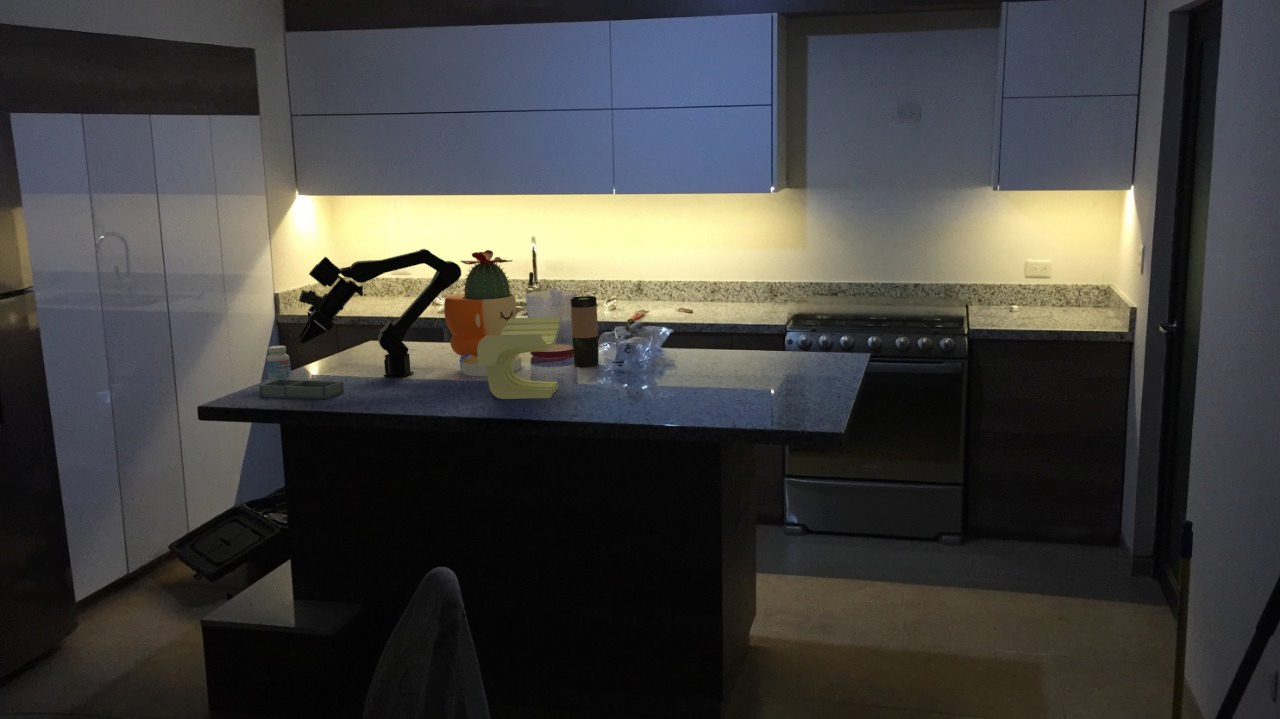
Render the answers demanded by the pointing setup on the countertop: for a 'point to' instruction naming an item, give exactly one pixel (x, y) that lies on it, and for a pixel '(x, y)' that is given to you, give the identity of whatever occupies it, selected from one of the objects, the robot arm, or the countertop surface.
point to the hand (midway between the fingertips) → (300, 340)
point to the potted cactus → (480, 310)
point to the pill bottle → (278, 364)
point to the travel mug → (584, 331)
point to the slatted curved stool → (513, 341)
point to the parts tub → (301, 389)
